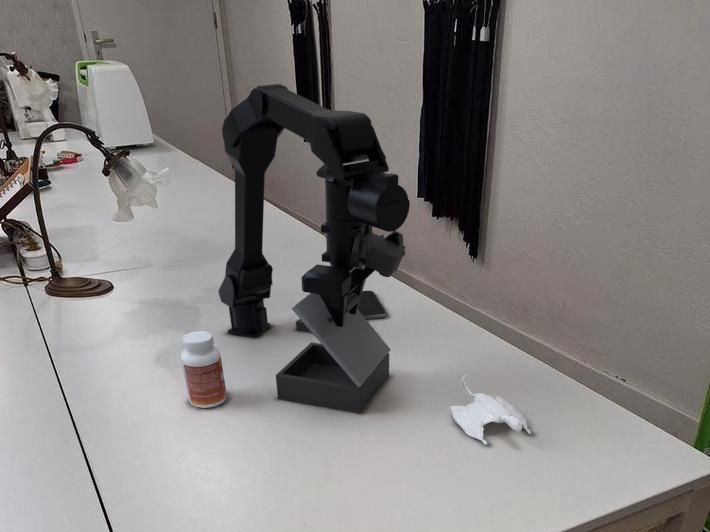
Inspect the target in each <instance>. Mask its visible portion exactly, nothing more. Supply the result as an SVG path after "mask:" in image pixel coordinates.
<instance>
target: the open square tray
mask: <svg viewBox="0 0 710 532" xmlns="http://www.w3.org/2000/svg"><path fill="white" fill-rule="evenodd" d="M389 377H390V353H388V354H387V355H386V356H385V358H384V359H383V360H382V361H381V362H380V364H379V365H378V366H377V367H376V369H375V370H374V371H373V372H372V373H371V375H370V376H369V377H368V378H367V379H366V381H365V382H364V383H363V384H362V385H361V386H360V387H357V385H356V384H355V383H354V382H353V381H352V379H351V378H350V377H349V376H348V375H347V374H346V372H345V371H344V370H343V369H342V368H341V366H340V365H339V364H338V363H337V362H336V361H335V359H334V358H333V357H332V356H331V355H330V353H329V352H328V351H327V350H326V349H325V348H324V346H323V345H322V344H321V343H320V342H319V343H318V342H313V341H311V342H310V343H309V344H307V345H306V346H305V347H304V348H303V349H302V350H301V351H300V352H299V353H298V354H297V355H296V356H294V358H293V359H291V360H290V361H289V362H288V363H287V364H286V365H285V366H284V367H283V368H282V369H281V370H279V371H278V372H277V374H276V375H275V382H276V383H275V384H276V393H277V399H278V400H283V401H289V402H294V403H299V404H306V405H311V406H317V407H323V408H328V409H333V410H339V411H344V412H350V413H356V414H362V413H363V411H364V410H365V408H366V407H367V406H368V404H370V402H371V400H373V398H374V397H375V396H376V394H377V393H378V392H379V391H380V389H381V387H382V386H384V384H385V382H387V380H388V379H389Z"/></svg>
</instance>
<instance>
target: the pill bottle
mask: <svg viewBox="0 0 710 532" xmlns="http://www.w3.org/2000/svg"><path fill="white" fill-rule="evenodd" d="M182 347H183V348H184V349H183V351H182V352H181V354H180V360H181V365H182V370H183V376H184V382H185V387H186V392H187V396H188V400H189V403H190V404H191V405H192V406H194V407H196V408H202V409H207V408H208V409H209V408H214V407H217V406H220V405H221V404H223V403H224V402H225V401H226V400H227V397H228V394H227V393H228V392H227V388H226V387H227V386H226V380H225V374H224V368H223V361H222V355H221V352H220V350H219V348H218V347H217V346H215V340H214V335H213V334H212V333H211V332H209V331H206V330H205V331H204V330H203V331H202V330H200V331H199V330H198V331H193V332H189V333H186V334H185V335H183V336H182Z"/></svg>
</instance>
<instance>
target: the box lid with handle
mask: <svg viewBox="0 0 710 532" xmlns="http://www.w3.org/2000/svg"><path fill="white" fill-rule="evenodd" d="M358 302H359V296H358V295H357V294H356V293H352V294H351V295H350V296H349V297H348V298H347V305H346V313H345V320H344V325H343V327H338V326H336V325H335V323H334V321H333V319H332V317H331V315H330V313H329V311H328V309H327V307H326V305H325V304H324V302H323V300H322V299H321V297H320V295H319V294H314V293H308V295H306V296H305V297H304V298H302V299H301V300H300V301H299V302H297V303H296V304H295V305H294V306H293V307H292V308H291V311H293V312H294V313H295V315H296V316H297V317H298V318H299V319H301V320H302V322H303V323H304V324H305V325H306V326H307V328H308V329H309V330H310V331H311V332H310V333H311V334H312V335H313V336H314V337H315V338H316V340H317V341H318V342H319V344H322V345H323V346H324V348H325V349H326V350H327V351H328V352H329V353H330V355H331V356H332V357H333V358H334V359H335V361H336V362H337V363H338V364H339V365H340V366H341V368H342V369H343V370H344V371H345V372H346V374H347V375H348V376H349V377H350V378H351V379H352V381H353V382H354V383H355V384H356V385H357V387H360V386H361V385H362V384H363V383H364V382H365V381H366V379H367V378H368V377H369V376H370V375H371V373H372V372H373V371H374V370H375V369H376V367H377V366H378V365H379V364H380V362H381V361H382V360H383V359H384V358H385V356H386V355H387V354H390V352H391V351H392V349H391V348H390V346H389V345H388V344H387V343H386V342H385V340H384V339H383V338H382V337H381V336H380V334H379V333H378V332H377V330H376V329H374V327H373V326H372V325H371V324H370V322H369V321H368V319H365V318H364V316H363V315H362V314H361V313H360V312H359V310H358V309H357V313H356V314H355V315H353V314H349V310H350V309H351V308H352V307H353V306H354V305H355V304H357V303H358Z"/></svg>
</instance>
